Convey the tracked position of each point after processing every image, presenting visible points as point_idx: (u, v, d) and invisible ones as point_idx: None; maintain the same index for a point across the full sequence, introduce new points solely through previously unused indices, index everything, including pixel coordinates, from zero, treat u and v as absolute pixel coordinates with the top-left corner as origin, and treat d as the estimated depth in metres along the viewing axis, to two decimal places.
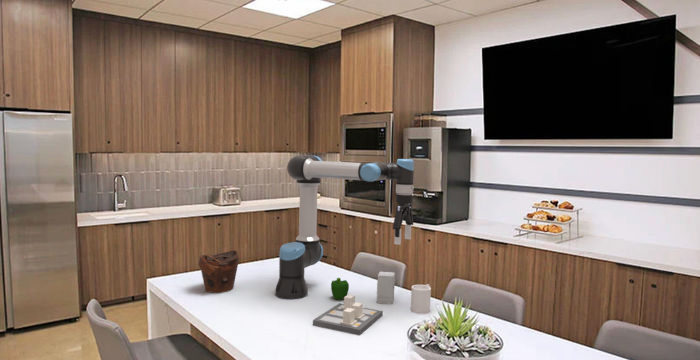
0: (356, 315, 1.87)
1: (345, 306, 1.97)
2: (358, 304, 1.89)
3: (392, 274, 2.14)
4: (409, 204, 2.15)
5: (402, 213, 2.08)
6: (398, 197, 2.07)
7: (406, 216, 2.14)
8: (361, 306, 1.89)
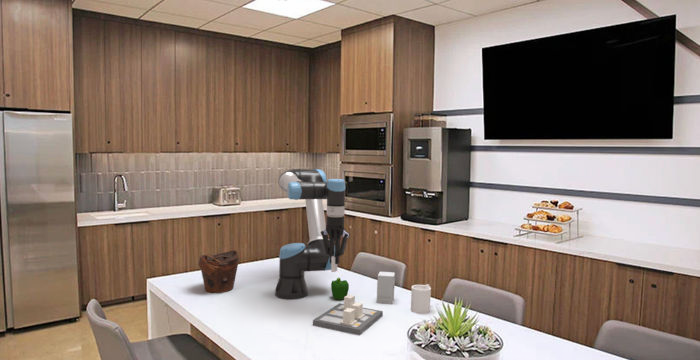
0: (356, 315, 1.87)
1: (345, 306, 1.97)
2: (358, 304, 1.89)
3: (392, 274, 2.14)
4: (346, 233, 1.97)
5: (328, 234, 2.01)
6: None
7: None
8: (361, 306, 1.89)
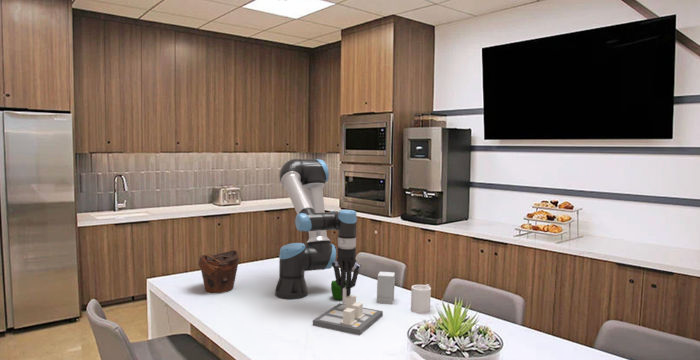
0: (356, 315, 1.87)
1: (346, 306, 1.97)
2: (358, 304, 1.89)
3: (392, 274, 2.14)
4: (357, 265, 1.95)
5: (340, 266, 1.99)
6: None
7: None
8: (361, 306, 1.89)
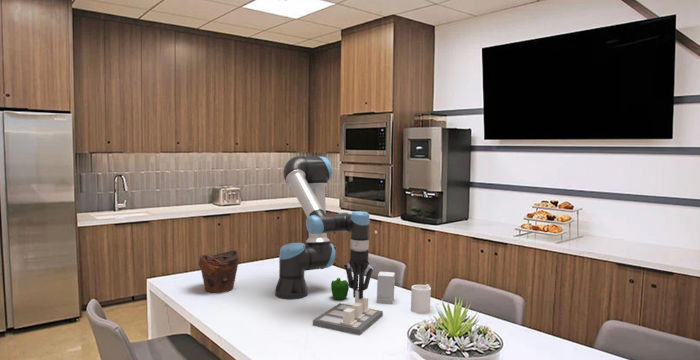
0: (356, 315, 1.87)
1: None
2: (358, 304, 1.89)
3: (392, 274, 2.14)
4: (370, 268, 1.93)
5: (352, 268, 1.97)
6: None
7: None
8: (361, 306, 1.89)
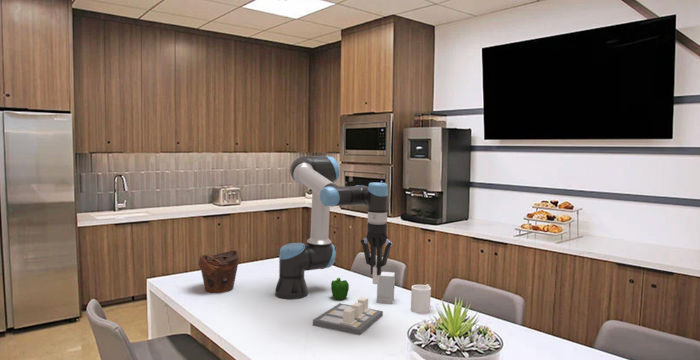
0: (356, 315, 1.87)
1: None
2: (358, 304, 1.89)
3: (392, 274, 2.14)
4: (389, 242, 1.81)
5: None
6: None
7: None
8: (361, 306, 1.89)
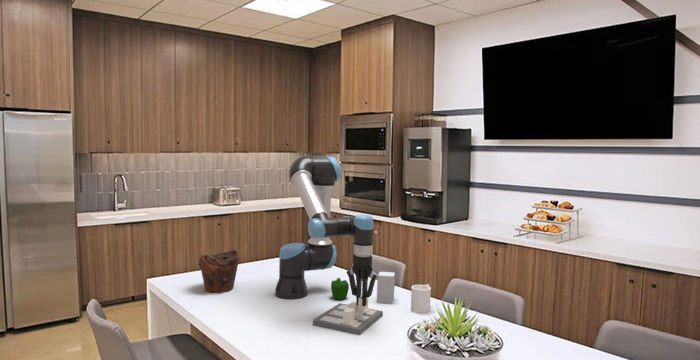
0: None
1: None
2: (355, 303, 1.89)
3: (392, 274, 2.14)
4: (374, 274, 1.84)
5: (355, 274, 1.88)
6: None
7: None
8: None
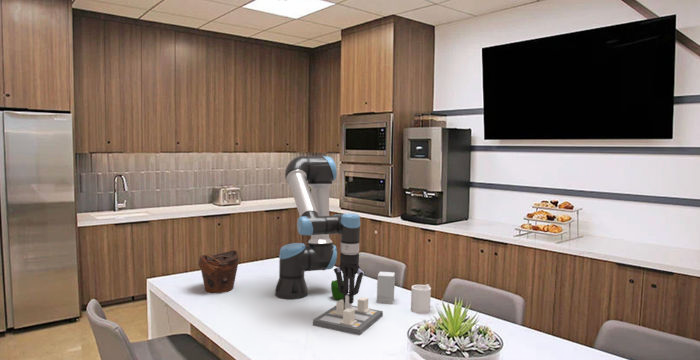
0: (341, 312, 1.90)
1: (359, 309, 1.95)
2: (343, 301, 1.91)
3: (392, 274, 2.14)
4: (361, 272, 1.87)
5: (342, 272, 1.90)
6: None
7: None
8: None
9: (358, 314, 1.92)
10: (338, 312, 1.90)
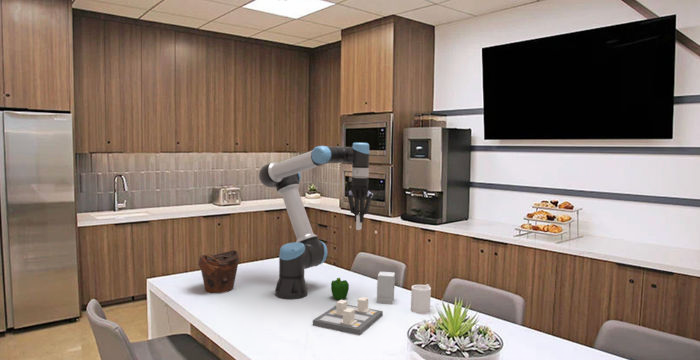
0: (341, 312, 1.90)
1: (359, 309, 1.95)
2: (343, 301, 1.91)
3: (392, 274, 2.14)
4: (370, 193, 2.10)
5: None
6: None
7: None
8: (346, 303, 1.92)
9: (358, 314, 1.92)
10: (338, 312, 1.90)
